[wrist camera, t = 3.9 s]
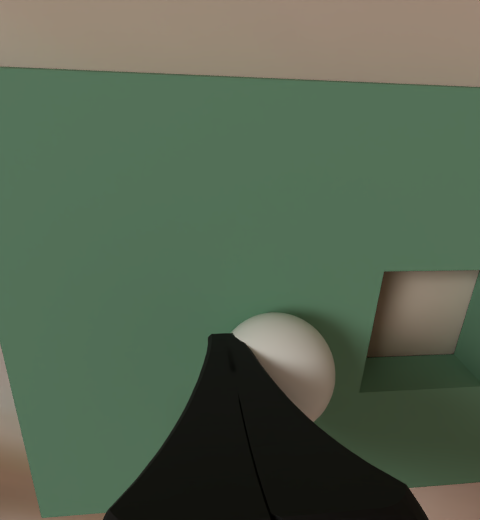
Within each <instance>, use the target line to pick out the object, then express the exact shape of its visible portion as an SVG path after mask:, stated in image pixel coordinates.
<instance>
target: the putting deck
mask: <svg viewBox="0 0 480 520" xmlns="http://www.w3.org/2000/svg"><path fill="white" fill-rule="evenodd" d="M445 270H480V87H464V86H440V85H417V84H394V83H370V82H347V81H324V80H300V79H277V78H254V77H230V76H207V75H183V74H160V73H137V72H113V71H90V70H67V69H43V68H20V67H0V344H1V348H2V352H3V356H4V361H5V365H6V369H7V373H8V377H9V382H10V386H11V390H12V394H13V399H14V403H15V407H16V411H17V415H18V420H19V424H20V428H21V432H22V437H23V441H24V445H25V449H26V453H27V458H28V462H29V466H30V470H31V475H32V479H33V483H34V487H35V491H36V496H37V500H38V504H39V508H40V513H41V517H42V518H46V517H58V516H70V515H83V514H95V513H106V512H107V510H108V509H109V508H110V507H111V506H112V505H113V504H114V503H115V502H116V501H117V499H118V498H119V497H120V496H121V495H122V494H123V493H124V492H125V491H126V490H127V489H128V488H129V487H130V485H131V484H132V483H133V482H134V481H135V480H136V479H137V477H138V476H139V475H140V474H141V472H142V471H143V470H144V469H145V467H146V466H147V465H148V463H149V462H150V461H151V460H152V458H153V457H154V456H155V455H156V453H157V452H158V450H159V449H160V448H161V446H162V445H163V443H164V442H165V440H166V439H167V437H168V436H169V434H170V432H171V431H172V429H173V428H174V426H175V425H176V423H177V421H178V419H179V418H180V416H181V414H182V412H183V410H184V408H185V407H186V405H187V403H188V401H189V398H190V396H191V394H192V392H193V389H194V387H195V385H196V383H197V380H198V378H199V375H200V372H201V369H202V366H203V363H204V360H205V356H206V352H207V346H208V337H209V336H210V335H211V334H221V333H231V332H232V331H233V330H234V329H235V328H236V327H237V326H238V325H239V324H241V323H242V322H243V321H245V320H247V319H249V318H251V317H253V316H256V315H259V314H263V313H271V312H279V313H286V314H290V315H293V316H296V317H298V318H301V319H303V320H305V321H306V322H307V323H309V324H310V325H312V326H313V327H314V328H315V329H316V330H317V331H318V332H319V333H320V334H321V335H322V337H323V338H324V339H325V341H326V343H327V344H328V346H329V348H330V351H331V353H332V356H333V360H334V364H335V386H334V390H333V394H332V397H331V399H330V402H329V403H328V405H327V407H326V409H325V410H324V412H323V413H322V414H321V415H320V416H319V417H318V418H317V419H316V420H315V421H314V423H315V424H316V425H317V426H318V427H320V428H321V429H322V430H323V431H325V432H326V433H327V434H328V435H330V436H331V437H332V438H334V439H335V440H336V441H338V442H339V443H340V444H341V445H343V446H344V447H346V448H347V449H348V450H350V451H351V452H353V453H354V454H356V455H357V456H359V457H361V458H362V459H364V460H365V461H367V462H368V463H370V464H371V465H373V466H375V467H377V468H378V469H380V470H382V471H384V472H385V473H387V474H389V475H391V476H392V477H394V478H396V479H398V480H400V481H401V482H403V483H405V484H406V485H407V486H408V488H414V487H426V486H438V485H450V484H463V483H475V482H480V271H479V274H478V277H477V281H476V284H475V287H474V290H473V294H472V297H471V300H470V303H469V307H468V310H467V313H466V316H465V319H464V323H463V326H462V329H461V332H460V336H459V339H458V342H457V345H456V349H455V352H454V354H446V355H422V356H397V357H373V358H366V357H367V352H368V347H369V342H370V337H371V332H372V328H373V323H374V318H375V313H376V308H377V303H378V298H379V293H380V288H381V283H382V278H383V274H384V271H445Z"/></svg>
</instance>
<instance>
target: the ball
mask: <svg viewBox="0 0 480 520" xmlns="http://www.w3.org/2000/svg"><path fill="white" fill-rule="evenodd" d="M231 333H233V334H234V336H235V337H236V338H238V339H239V340H241V341H242V342H244V343H246V345H247V346H248V347H249V348H250V350H251V351H252V352H253V354H254V355H255V356H256V358H257V359H258V361H259V362H260V364H261V365H262V366H263V368H264V369H265V370H266V372H267V373H268V374H269V376H270V377H271V378H272V379H273V381H274V382H275V383H276V384H277V385H278V387H279V388H280V389H281V390H282V391H283V392H284V393H285V395H286V396H287V397H288V398H289V399H290V400H291V401H292V402H293V403H294V404H295V405H296V406H297V407H298V408H299V409H300V410H301V411H302V412H303V413H304V414H305V415H306V416H307V417H308V418H309V419H310V420H312V421H313V422H314V421H315V420H316V419H317V418H318V417H319V416H320V415H321V414H322V413H323V412H324V410H325V409H326V407H327V405H328V403H329V402H330V399H331V397H332V394H333V390H334V386H335V364H334V360H333V356H332V353H331V351H330V348H329V346H328V344H327V343H326V341H325V339H324V338H323V337H322V335H321V334H320V333H319V332H318V331H317V330H316V329H315V328H314V327H313V326H312V325H310V324H309V323H307V322H306V321H305V320H303V319H301V318H298V317H296V316H293V315H290V314H286V313H279V312H271V313H263V314H259V315H256V316H253V317H251V318H249V319H247V320H245V321H243V322H242V323H241V324H239V325H238V326H237V327H236V328H235V329H234V330H233V331H232V332H231Z"/></svg>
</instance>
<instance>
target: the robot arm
mask: <svg viewBox="0 0 480 520" xmlns="http://www.w3.org/2000/svg"><path fill="white" fill-rule="evenodd" d="M103 520H428V518H427V516H426V514H425V512H424V511H423V509H422V507H421V506H420V504H419V503H418V501H417V500H416V498H415V497H414V495H413V494H412V492H411V491H410V489H409V488H408V486H407V485H406V484H405V483H403V482H401V481H400V480H398V479H396V478H394V477H392V476H391V475H389V474H387V473H385V472H384V471H382V470H380V469H378V468H377V467H375V466H373V465H371V464H370V463H368V462H367V461H365V460H364V459H362V458H361V457H359V456H357V455H356V454H354V453H353V452H351V451H350V450H348V449H347V448H346V447H344V446H343V445H341V444H340V443H339V442H338V441H336V440H335V439H334V438H332V437H331V436H330V435H328V434H327V433H326V432H325V431H323V430H322V429H321V428H320V427H318V426H317V425H316V424H315V423H314V422H313V421H312V420H310V419H309V418H308V417H307V416H306V415H305V414H304V413H303V412H302V411H301V410H300V409H299V408H298V407H297V406H296V405H295V404H294V403H293V402H292V401H291V400H290V399H289V398H288V397H287V396H286V395H285V393H284V392H283V391H282V390H281V389H280V388H279V387H278V385H277V384H276V383H275V382H274V381H273V379H272V378H271V377H270V376H269V374H268V373H267V372H266V370H265V369H264V368H263V366H262V365H261V364H260V362H259V361H258V359H257V358H256V356H255V355H254V354H253V352H252V351H251V350H250V348H249V347H248V346H247V345H246V343H244V342H242V341H241V340H239V339H238V338H236V337H235V336H234V334H233V333H221V334H211V335H210V336H209V337H208V346H207V352H206V356H205V360H204V363H203V366H202V369H201V372H200V375H199V378H198V380H197V383H196V385H195V387H194V389H193V392H192V394H191V396H190V398H189V401H188V403H187V405H186V407H185V408H184V410H183V412H182V414H181V416H180V418H179V419H178V421H177V423H176V425H175V426H174V428H173V429H172V431H171V432H170V434H169V436H168V437H167V439H166V440H165V442H164V443H163V445H162V446H161V448H160V449H159V450H158V452H157V453H156V455H155V456H154V457H153V458H152V460H151V461H150V462H149V463H148V465H147V466H146V467H145V469H144V470H143V471H142V472H141V474H140V475H139V476H138V477H137V479H136V480H135V481H134V482H133V483H132V484H131V485H130V487H129V488H128V489H127V490H126V491H125V492H124V493H123V494H122V495H121V496H120V497H119V498H118V499H117V501H116V502H115V503H114V504H113V505H112V506H111V507H110V508H109V509H108V510H107V512H106V514H105V516H104V518H103Z"/></svg>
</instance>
